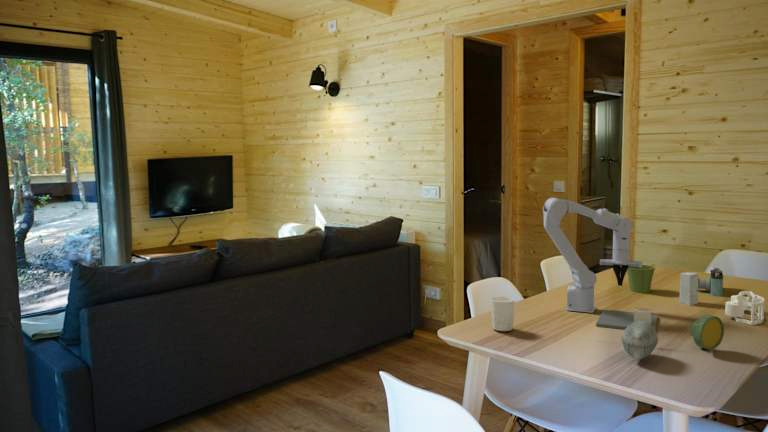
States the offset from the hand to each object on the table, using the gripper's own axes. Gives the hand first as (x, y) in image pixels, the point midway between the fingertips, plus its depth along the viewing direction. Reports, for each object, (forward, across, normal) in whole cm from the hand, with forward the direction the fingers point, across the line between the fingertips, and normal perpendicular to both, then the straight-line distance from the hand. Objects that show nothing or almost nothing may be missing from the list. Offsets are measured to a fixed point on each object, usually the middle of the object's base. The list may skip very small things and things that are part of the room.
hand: (620, 285), depth 215 cm
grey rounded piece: (+10, +10, -49) cm, 51 cm away
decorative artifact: (+10, +26, -35) cm, 44 cm away
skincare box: (+10, +23, +19) cm, 31 cm away
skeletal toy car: (+10, +41, +8) cm, 43 cm away
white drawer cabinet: (+8, +9, -19) cm, 22 cm away
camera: (+10, +30, +43) cm, 53 cm away
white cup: (+10, -33, -41) cm, 53 cm away
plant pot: (+10, +5, +32) cm, 34 cm away
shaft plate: (+9, +4, -16) cm, 19 cm away
